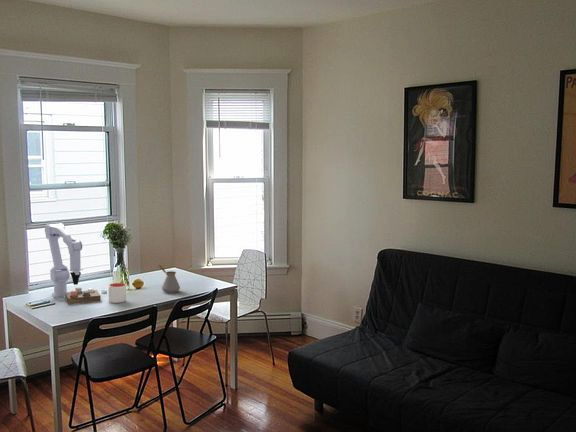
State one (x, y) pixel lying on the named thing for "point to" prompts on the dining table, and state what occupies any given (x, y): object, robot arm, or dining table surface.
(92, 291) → the key ivory
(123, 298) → the cup
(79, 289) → the key grey
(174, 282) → the coffee pot
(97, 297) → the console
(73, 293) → the key terracotta
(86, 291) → the key black
